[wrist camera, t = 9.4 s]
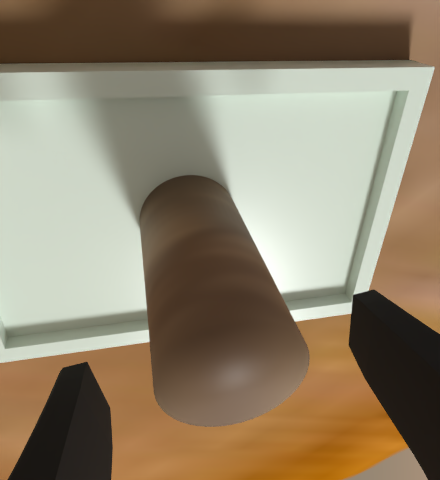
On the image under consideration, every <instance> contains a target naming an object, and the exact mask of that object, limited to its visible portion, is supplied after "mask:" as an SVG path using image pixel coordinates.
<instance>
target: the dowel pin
mask: <svg viewBox="0 0 440 480" xmlns="http://www.w3.org/2000/svg"><path fill="white" fill-rule="evenodd" d="M139 221H140V234H141V246H142V258H143V270H144V282H145V293H146V305H147V317H148V329H149V340H150V352H151V364H152V376H153V387H154V395H155V398H156V401H157V403H158V405H159V406H160V407H161V409H162V410H163V411H164V412H165V413H166V414H168V415H169V416H171V417H172V418H174V419H176V420H178V421H180V422H183V423H187V424H190V425H196V426H205V427H216V426H226V425H232V424H236V423H241V422H244V421H247V420H250V419H253V418H255V417H258V416H260V415H262V414H264V413H266V412H268V411H270V410H272V409H273V408H275V407H277V406H278V405H279V404H281V403H282V402H284V401H285V400H286V399H287V398H288V397H290V395H291V394H292V393H293V392H294V391H295V390H296V389H297V388H298V387H299V385H300V384H301V382H302V381H303V379H304V377H305V375H306V373H307V370H308V366H309V350H308V347H307V344H306V343H305V341H304V339H303V337H302V335H301V333H300V331H299V329H298V327H297V325H296V323H295V321H294V319H293V317H292V315H291V313H290V311H289V309H288V307H287V305H286V303H285V301H284V299H283V297H282V295H281V294H280V292H279V290H278V288H277V286H276V284H275V282H274V280H273V278H272V276H271V274H270V272H269V270H268V268H267V266H266V264H265V262H264V260H263V258H262V256H261V254H260V252H259V250H258V248H257V246H256V245H255V243H254V241H253V239H252V237H251V235H250V233H249V231H248V229H247V227H246V225H245V223H244V221H243V219H242V217H241V215H240V213H239V211H238V209H237V207H236V205H235V203H234V201H233V199H232V198H231V196H230V194H229V193H228V191H227V190H226V189H225V188H224V187H223V186H222V185H220V184H219V183H218V182H216V181H214V180H212V179H210V178H207V177H203V176H198V175H184V176H179V177H175V178H172V179H169V180H167V181H165V182H163V183H162V184H160V185H159V186H157V187H156V188H155V189H154V190H153V191H152V192H151V193H150V194H149V195H148V197H147V198H146V200H145V201H144V203H143V206H142V208H141V212H140V219H139Z"/></svg>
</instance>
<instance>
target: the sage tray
mask: <svg viewBox="0 0 440 480" xmlns="http://www.w3.org/2000/svg"><path fill="white" fill-rule="evenodd" d="M434 68H435V67H433V66H430V65H426V64H423V63H419V62H416V61H412V60H341V61H234V62H128V63H21V64H0V363H3V362H10V361H17V360H24V359H31V358H38V357H45V356H53V355H60V354H67V353H74V352H81V351H88V350H95V349H102V348H109V347H116V346H124V345H131V344H138V343H145V342H150V340H149V329H148V317H147V305H146V293H145V282H144V270H143V258H142V246H141V234H140V221H139V219H140V212H141V208H142V206H143V203H144V201H145V200H146V198H147V197H148V195H149V194H150V193H151V192H152V191H153V190H154V189H155V188H156V187H157V186H159V185H160V184H162V183H163V182H165V181H167V180H169V179H172V178H175V177H179V176H184V175H198V176H203V177H207V178H210V179H212V180H214V181H216V182H218V183H219V184H220V185H222V186H223V187H224V188H225V189H226V190H227V191H228V193H229V194H230V196H231V198H232V199H233V201H234V203H235V205H236V207H237V209H238V211H239V213H240V215H241V217H242V219H243V221H244V223H245V225H246V227H247V229H248V231H249V233H250V235H251V237H252V239H253V241H254V243H255V245H256V246H257V248H258V250H259V252H260V254H261V256H262V258H263V260H264V262H265V264H266V266H267V268H268V270H269V272H270V274H271V276H272V278H273V280H274V282H275V284H276V286H277V288H278V290H279V292H280V294H281V295H282V297H283V299H284V301H285V303H286V305H287V307H288V309H289V311H290V313H291V315H292V317H293V319H294V321H301V320H308V319H315V318H323V317H330V316H337V315H344V314H351V312H352V300H353V295H354V294H358V293H362V292H366V291H368V290H369V287H370V284H371V280H372V277H373V274H374V270H375V267H376V263H377V260H378V257H379V253H380V250H381V247H382V243H383V240H384V237H385V233H386V230H387V226H388V223H389V220H390V216H391V213H392V210H393V206H394V203H395V200H396V196H397V193H398V189H399V186H400V183H401V179H402V176H403V173H404V169H405V166H406V163H407V159H408V156H409V152H410V149H411V146H412V142H413V139H414V136H415V132H416V129H417V125H418V122H419V119H420V115H421V112H422V109H423V105H424V102H425V99H426V95H427V92H428V88H429V85H430V82H431V78H432V75H433V72H434Z"/></svg>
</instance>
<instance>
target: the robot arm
mask: <svg viewBox="0 0 440 480" xmlns="http://www.w3.org/2000/svg"><path fill="white" fill-rule="evenodd" d="M349 347H350V349H351V351H352V353H353V355H354V357H355V359H356V361H357V363H358V365H359V367H360V369H361V371H362V373H363V375H364V377H365V379H366V381H367V383H368V384H369V386H370V387H371V389H372V390H373V392H374V394H375V395H376V397H377V398H378V400H379V401H380V403H381V405H382V406H383V408H384V409H385V411H386V412H387V414H388V416H389V417H390V419H391V420H392V422H393V423H394V425H395V426H396V428H397V429H398V431H399V433H400V434H401V436H402V437H403V439H404V440H405V442H406V443H407V445H408V447H409V448H410V450H411V451H412V453H413V454H414V456H415V458H416V459H417V461H418V463H419V464H420V466H421V467H422V469H423V471H424V473H425V475H426V477H427V478H428V480H440V334H439V333H437V332H435V331H434V330H432V329H431V328H429V327H428V326H426V325H425V324H423V323H422V322H420V321H419V320H418V319H416V318H415V317H413V316H412V315H410V314H409V313H407V312H406V311H404V310H403V309H402V308H400V307H399V306H397V305H396V304H394V303H393V302H391V301H390V300H388V299H387V298H386V297H384V296H383V295H381V294H380V293H378V292H377V291H375V290H370V291H366V292H362V293H358V294H354V295H353V300H352V312H351V324H350V336H349ZM111 470H112V428H111V413H110V407H109V405H108V403H107V401H106V399H105V397H104V395H103V393H102V391H101V389H100V387H99V385H98V383H97V381H96V379H95V377H94V375H93V373H92V371H91V369H90V367H89V365H88V363H87V362H84V363H80V364H77V365H73V366H69V367H65V368H63V369H62V370H61V371H60V373H59V375H58V378H57V380H56V382H55V385H54V387H53V389H52V391H51V394H50V396H49V398H48V400H47V402H46V405H45V407H44V409H43V411H42V413H41V415H40V417H39V419H38V422H37V424H36V426H35V428H34V430H33V432H32V434H31V436H30V438H29V440H28V442H27V444H26V446H25V448H24V450H23V452H22V454H21V456H20V458H19V460H18V462H17V464H16V465H15V467H14V469H13V471H12V473H11V475H10V476H9V478H8V480H111Z"/></svg>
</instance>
